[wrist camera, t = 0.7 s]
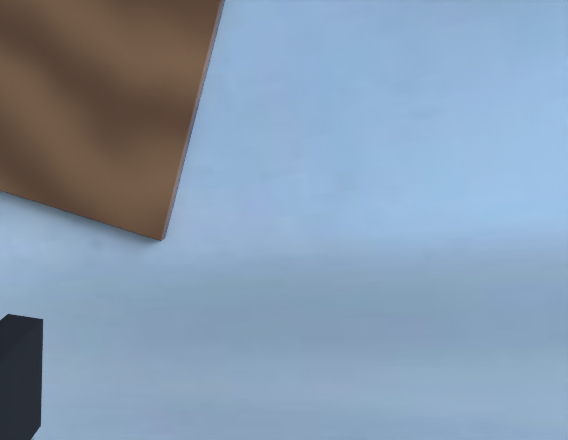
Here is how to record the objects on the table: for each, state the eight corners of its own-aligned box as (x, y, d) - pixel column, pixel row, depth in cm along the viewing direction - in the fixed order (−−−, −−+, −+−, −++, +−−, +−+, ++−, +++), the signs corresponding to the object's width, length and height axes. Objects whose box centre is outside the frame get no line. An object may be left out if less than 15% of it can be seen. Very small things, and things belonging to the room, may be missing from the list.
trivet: (25, -101, 36) (16, -108, 35) (235, -41, 35) (232, -45, 34) (-22, 179, 40) (-31, 180, 39) (165, 238, 39) (160, 241, 38)
